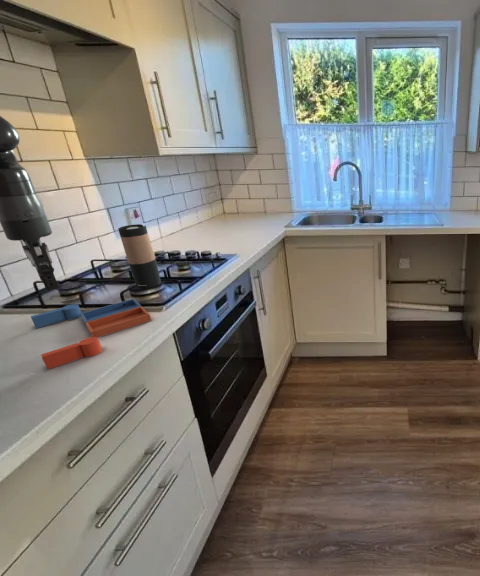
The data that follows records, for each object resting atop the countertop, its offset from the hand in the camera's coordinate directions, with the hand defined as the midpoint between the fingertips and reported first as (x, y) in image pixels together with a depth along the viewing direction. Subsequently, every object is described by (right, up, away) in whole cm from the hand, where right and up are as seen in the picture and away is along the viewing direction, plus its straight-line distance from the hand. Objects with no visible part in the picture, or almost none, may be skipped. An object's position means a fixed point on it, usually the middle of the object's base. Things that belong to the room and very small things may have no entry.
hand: (49, 284), depth 85 cm
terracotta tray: (+8, -11, +12) cm, 18 cm away
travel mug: (-1, 0, +38) cm, 38 cm away
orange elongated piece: (+8, -17, -3) cm, 19 cm away
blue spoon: (-11, -10, +15) cm, 21 cm away
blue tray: (+2, -9, +17) cm, 19 cm away
